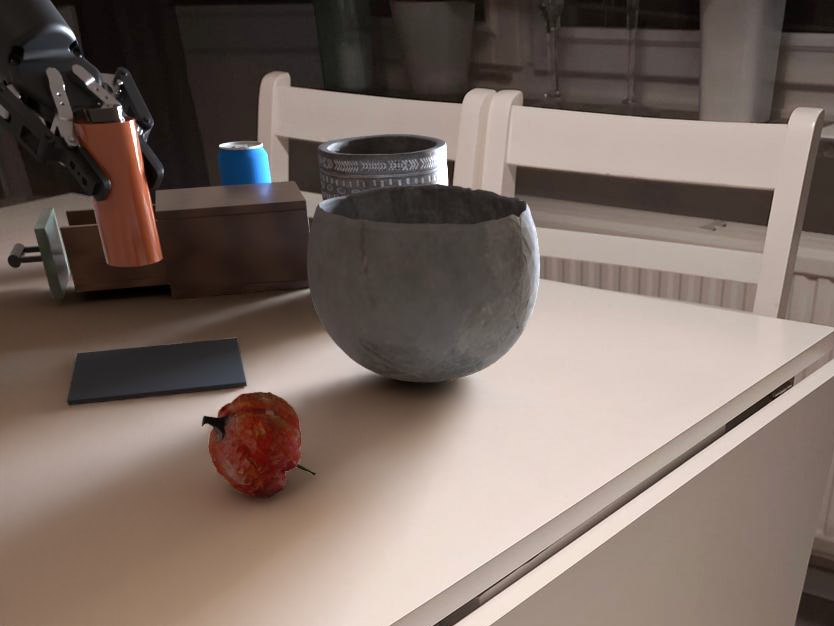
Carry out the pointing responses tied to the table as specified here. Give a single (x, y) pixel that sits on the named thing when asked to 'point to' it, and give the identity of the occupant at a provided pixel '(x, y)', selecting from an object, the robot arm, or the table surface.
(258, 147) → the beverage can
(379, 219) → the bowl
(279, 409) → the pomegranate
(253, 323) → the table surface
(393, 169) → the planter
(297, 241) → the cabinet
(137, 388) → the mat
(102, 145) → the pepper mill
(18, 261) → the drawer
